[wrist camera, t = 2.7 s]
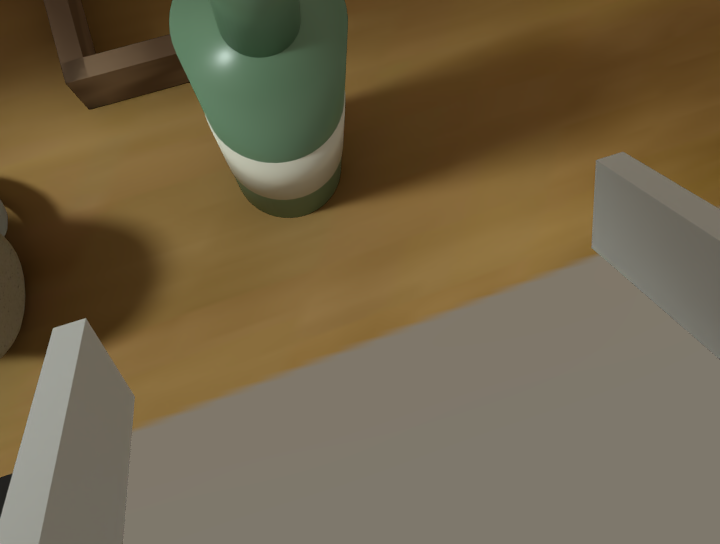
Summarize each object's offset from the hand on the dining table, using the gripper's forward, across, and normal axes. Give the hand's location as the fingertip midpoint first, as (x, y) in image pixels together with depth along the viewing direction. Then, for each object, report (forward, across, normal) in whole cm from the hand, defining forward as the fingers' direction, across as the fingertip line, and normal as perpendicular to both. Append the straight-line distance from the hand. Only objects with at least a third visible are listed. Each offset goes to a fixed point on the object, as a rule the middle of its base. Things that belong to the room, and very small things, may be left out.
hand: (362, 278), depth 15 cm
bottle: (+19, 0, -5) cm, 20 cm away
